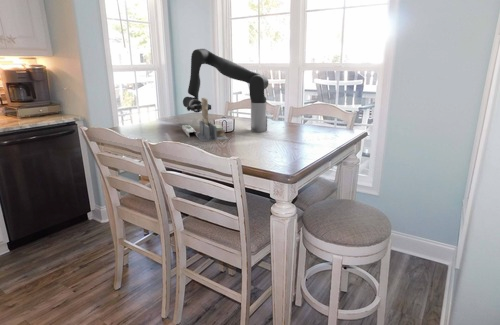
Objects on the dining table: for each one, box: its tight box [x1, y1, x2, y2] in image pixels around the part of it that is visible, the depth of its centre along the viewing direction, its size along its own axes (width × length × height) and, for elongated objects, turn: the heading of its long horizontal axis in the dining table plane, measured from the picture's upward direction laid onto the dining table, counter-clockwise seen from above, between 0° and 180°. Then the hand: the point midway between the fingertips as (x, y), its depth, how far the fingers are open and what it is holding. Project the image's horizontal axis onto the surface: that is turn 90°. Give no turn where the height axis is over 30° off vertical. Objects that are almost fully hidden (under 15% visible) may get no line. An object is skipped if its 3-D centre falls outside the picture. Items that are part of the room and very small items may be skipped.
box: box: [181, 124, 198, 139], centre depth 186 cm, size 4×4×28 cm
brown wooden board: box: [200, 97, 209, 126], centre depth 182 cm, size 2×6×20 cm, turn 21°
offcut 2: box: [217, 129, 226, 134], centre depth 184 cm, size 5×10×2 cm, turn 25°
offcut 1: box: [214, 123, 224, 131], centre depth 184 cm, size 5×10×2 cm, turn 18°
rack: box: [196, 120, 230, 142], centre depth 180 cm, size 15×21×8 cm
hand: (201, 109), depth 189 cm, fingers open, 8 cm apart
